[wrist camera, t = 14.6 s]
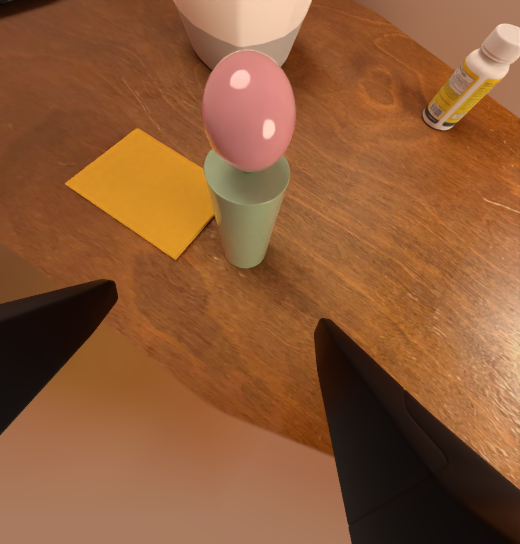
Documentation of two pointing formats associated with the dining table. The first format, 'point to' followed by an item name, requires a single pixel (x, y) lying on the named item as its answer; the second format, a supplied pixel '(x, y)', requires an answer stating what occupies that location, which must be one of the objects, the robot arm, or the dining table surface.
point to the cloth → (149, 191)
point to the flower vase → (247, 150)
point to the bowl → (241, 26)
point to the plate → (5, 1)
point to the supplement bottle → (474, 77)
